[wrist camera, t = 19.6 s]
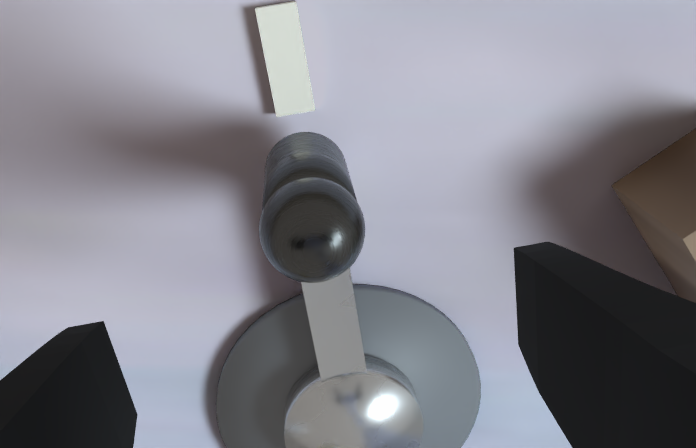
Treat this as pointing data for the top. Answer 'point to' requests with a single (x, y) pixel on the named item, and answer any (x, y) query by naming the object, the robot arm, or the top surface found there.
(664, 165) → the brown wooden block
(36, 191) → the top surface
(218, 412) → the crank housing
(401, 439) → the crank
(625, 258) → the top surface
